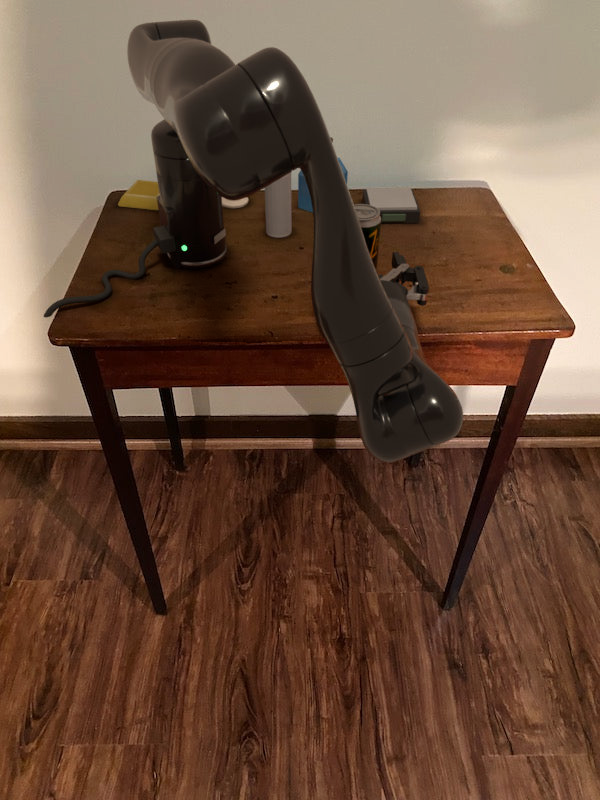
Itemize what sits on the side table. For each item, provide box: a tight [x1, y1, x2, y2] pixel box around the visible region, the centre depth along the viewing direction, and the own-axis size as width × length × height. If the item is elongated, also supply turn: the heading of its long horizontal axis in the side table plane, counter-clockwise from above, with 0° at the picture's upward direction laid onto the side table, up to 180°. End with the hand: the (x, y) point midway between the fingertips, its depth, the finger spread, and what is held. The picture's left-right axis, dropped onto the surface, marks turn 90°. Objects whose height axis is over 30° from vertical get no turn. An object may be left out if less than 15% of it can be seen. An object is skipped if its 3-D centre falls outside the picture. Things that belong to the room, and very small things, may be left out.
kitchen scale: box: [361, 187, 421, 225], centre depth 117 cm, size 9×9×3 cm
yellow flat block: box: [117, 179, 160, 211], centre depth 122 cm, size 9×9×2 cm
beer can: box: [354, 203, 382, 271], centre depth 96 cm, size 5×5×12 cm
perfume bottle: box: [297, 136, 349, 214], centre depth 116 cm, size 6×6×12 cm
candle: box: [222, 197, 250, 209], centre depth 118 cm, size 5×5×10 cm
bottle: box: [264, 172, 293, 239], centre depth 106 cm, size 4×4×20 cm
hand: (363, 258), depth 92 cm, fingers open, 8 cm apart
